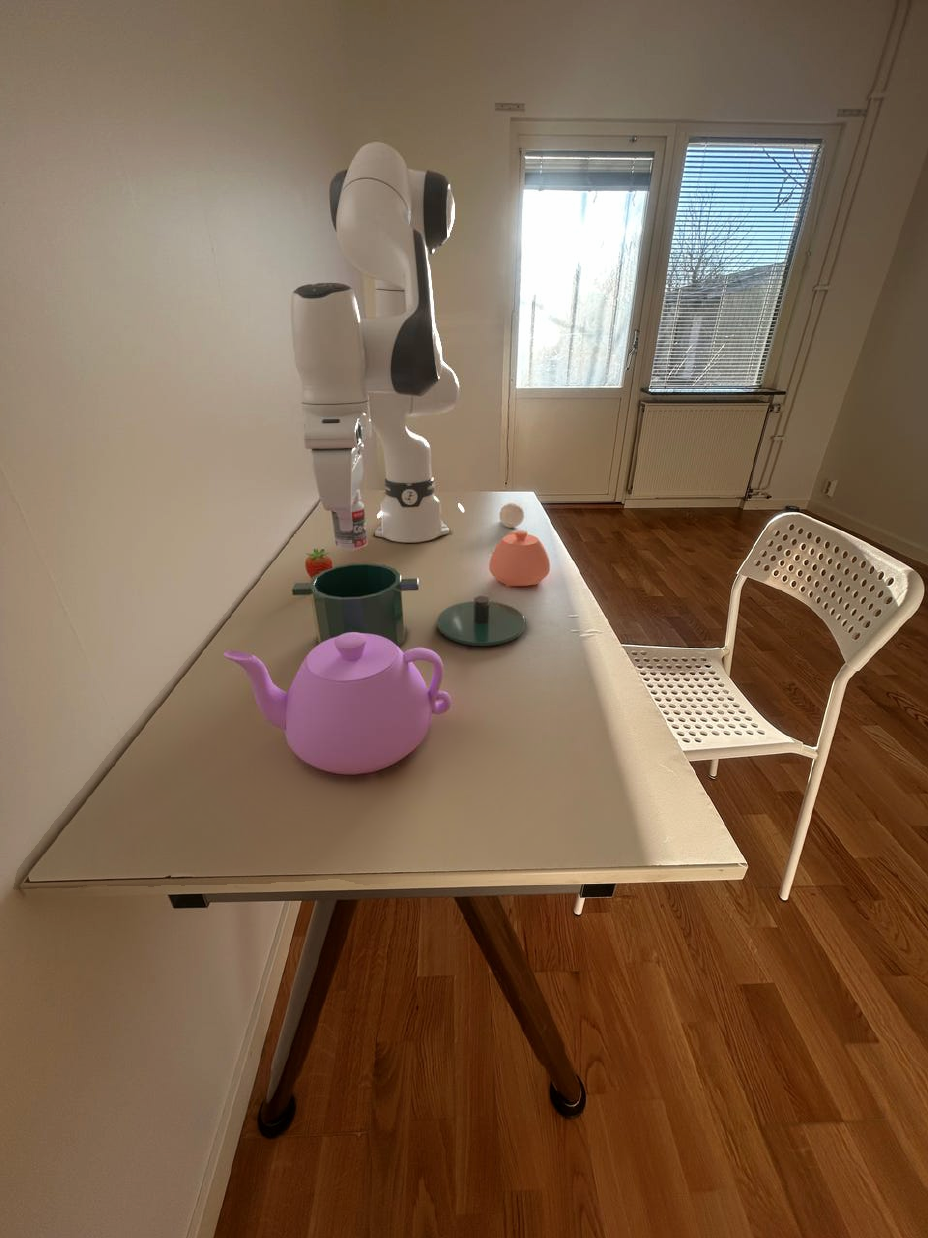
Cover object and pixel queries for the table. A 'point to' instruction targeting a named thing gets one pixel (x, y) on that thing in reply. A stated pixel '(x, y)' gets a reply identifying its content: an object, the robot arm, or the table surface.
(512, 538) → the sugar bowl
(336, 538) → the pill bottle
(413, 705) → the teapot
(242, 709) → the table surface
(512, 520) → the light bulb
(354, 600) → the pot
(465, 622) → the lid
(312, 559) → the fruit
